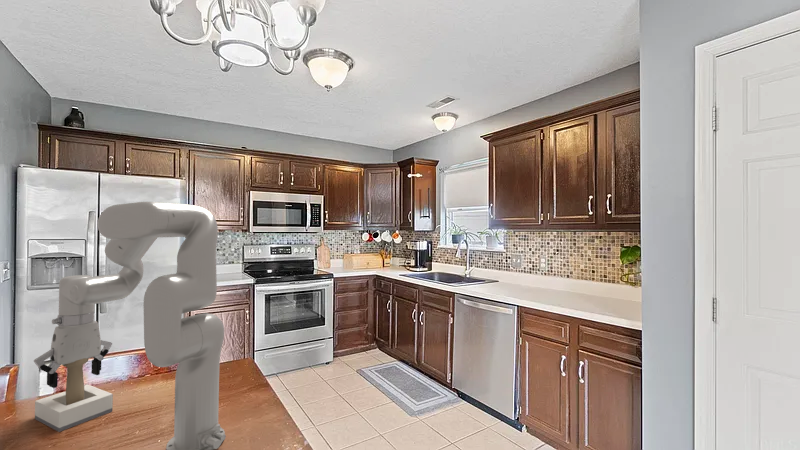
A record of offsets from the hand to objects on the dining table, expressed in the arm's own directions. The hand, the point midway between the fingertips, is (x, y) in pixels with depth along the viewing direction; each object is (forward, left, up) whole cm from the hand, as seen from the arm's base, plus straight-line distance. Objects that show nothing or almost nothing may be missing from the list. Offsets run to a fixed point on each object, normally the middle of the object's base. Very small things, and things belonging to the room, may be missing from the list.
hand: (75, 380), depth 103 cm
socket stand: (0, 0, -10) cm, 10 cm away
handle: (0, 0, -9) cm, 9 cm away
